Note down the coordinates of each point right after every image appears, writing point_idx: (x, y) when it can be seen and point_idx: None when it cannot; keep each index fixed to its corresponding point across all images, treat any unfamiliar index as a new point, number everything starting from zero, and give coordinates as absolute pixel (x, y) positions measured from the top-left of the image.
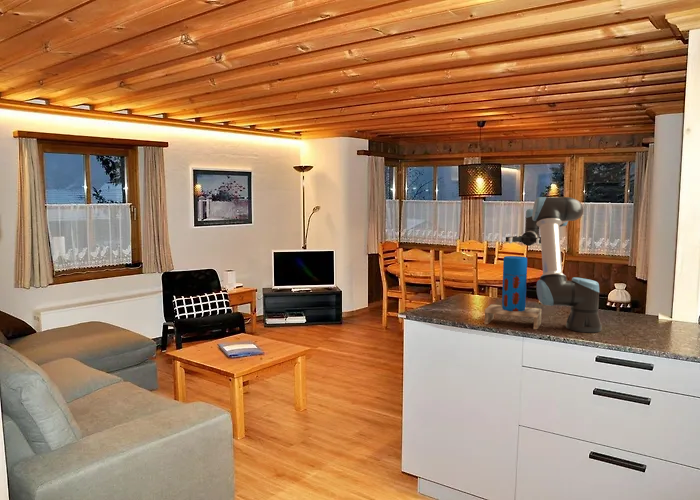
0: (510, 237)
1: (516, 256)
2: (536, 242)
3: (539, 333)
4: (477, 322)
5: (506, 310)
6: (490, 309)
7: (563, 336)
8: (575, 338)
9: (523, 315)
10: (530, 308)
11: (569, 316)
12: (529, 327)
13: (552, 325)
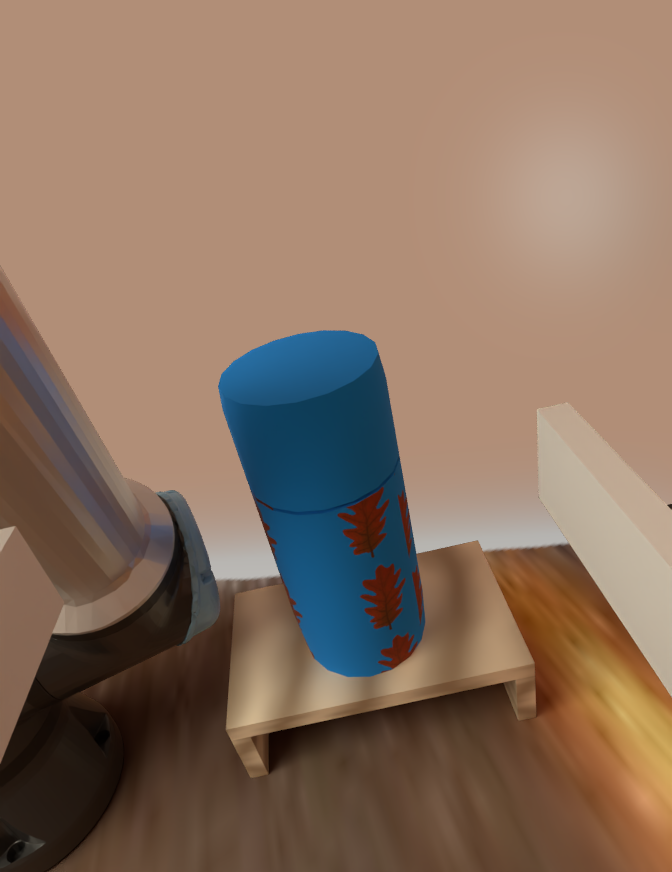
0: (666, 513)
1: (303, 390)
2: (43, 578)
3: (238, 592)
4: (523, 594)
5: None
6: (456, 553)
7: None
8: None
9: None
10: (287, 696)
11: (84, 729)
12: None
13: (189, 762)
